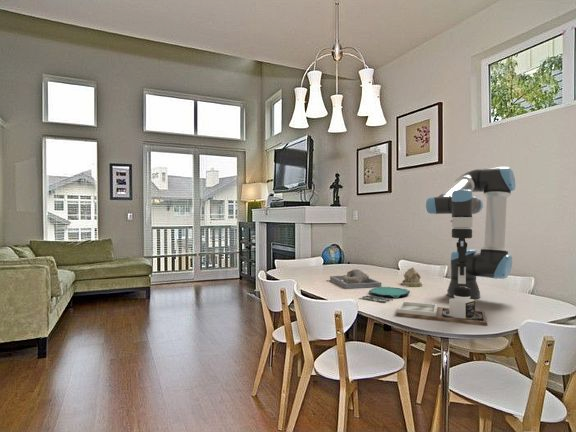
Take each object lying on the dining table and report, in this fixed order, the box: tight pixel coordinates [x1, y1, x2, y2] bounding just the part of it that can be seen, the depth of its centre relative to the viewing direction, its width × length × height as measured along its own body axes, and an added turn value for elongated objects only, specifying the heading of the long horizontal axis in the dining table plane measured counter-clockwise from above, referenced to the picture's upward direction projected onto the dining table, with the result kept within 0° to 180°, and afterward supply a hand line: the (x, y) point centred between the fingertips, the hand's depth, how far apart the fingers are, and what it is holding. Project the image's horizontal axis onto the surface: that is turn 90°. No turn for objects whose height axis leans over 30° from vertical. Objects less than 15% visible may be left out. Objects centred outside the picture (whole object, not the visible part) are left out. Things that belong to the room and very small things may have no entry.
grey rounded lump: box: [342, 268, 370, 284], centre depth 224 cm, size 16×9×15 cm
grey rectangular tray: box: [329, 275, 382, 290], centre depth 225 cm, size 21×28×2 cm
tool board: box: [395, 300, 488, 326], centre depth 155 cm, size 33×18×2 cm, turn 66°
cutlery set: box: [358, 286, 411, 304], centre depth 192 cm, size 20×30×2 cm, turn 138°
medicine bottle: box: [448, 287, 476, 319], centre depth 152 cm, size 7×7×12 cm
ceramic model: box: [401, 267, 423, 288], centre depth 220 cm, size 14×11×10 cm
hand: (461, 281), depth 151 cm, fingers open, 13 cm apart
